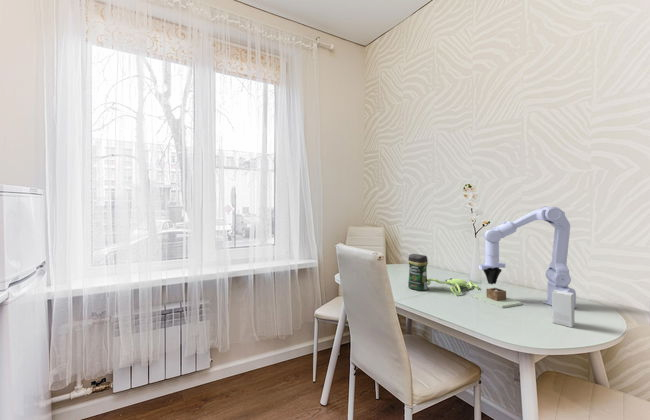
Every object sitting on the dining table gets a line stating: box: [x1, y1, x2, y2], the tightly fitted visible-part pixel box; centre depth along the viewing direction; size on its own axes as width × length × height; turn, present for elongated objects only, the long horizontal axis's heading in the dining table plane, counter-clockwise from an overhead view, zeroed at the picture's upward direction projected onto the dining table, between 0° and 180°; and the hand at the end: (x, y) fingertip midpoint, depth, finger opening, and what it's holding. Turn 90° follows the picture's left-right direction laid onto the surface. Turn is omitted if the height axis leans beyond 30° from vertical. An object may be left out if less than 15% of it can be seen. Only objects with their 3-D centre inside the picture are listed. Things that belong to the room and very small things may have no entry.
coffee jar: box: [407, 253, 429, 292], centre depth 156 cm, size 10×8×19 cm
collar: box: [486, 287, 507, 301], centre depth 137 cm, size 6×6×4 cm
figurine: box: [427, 278, 480, 297], centre depth 156 cm, size 18×27×6 cm
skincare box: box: [551, 290, 576, 328], centre depth 110 cm, size 6×4×12 cm
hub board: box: [472, 290, 523, 309], centre depth 136 cm, size 16×12×5 cm
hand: (491, 283), depth 139 cm, fingers closed
